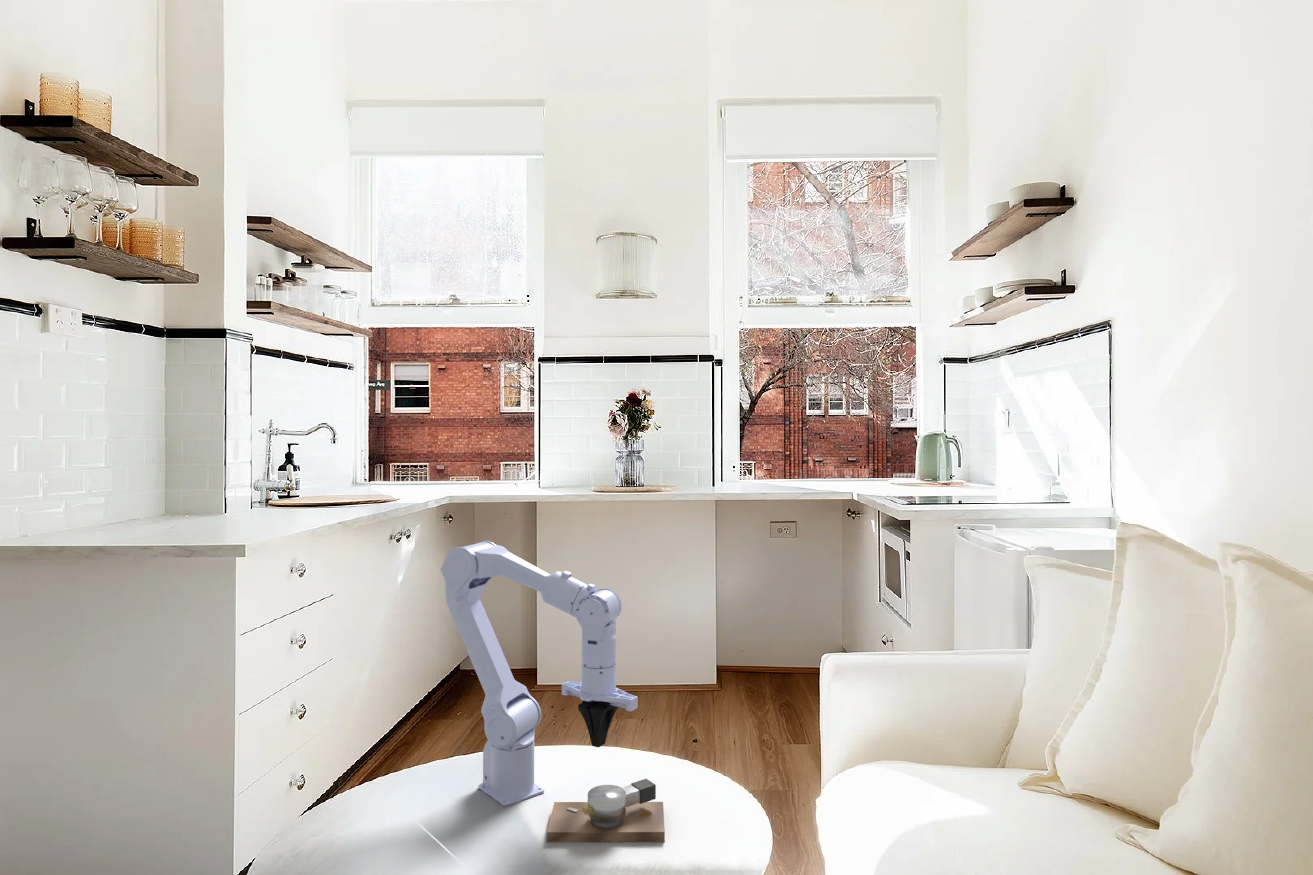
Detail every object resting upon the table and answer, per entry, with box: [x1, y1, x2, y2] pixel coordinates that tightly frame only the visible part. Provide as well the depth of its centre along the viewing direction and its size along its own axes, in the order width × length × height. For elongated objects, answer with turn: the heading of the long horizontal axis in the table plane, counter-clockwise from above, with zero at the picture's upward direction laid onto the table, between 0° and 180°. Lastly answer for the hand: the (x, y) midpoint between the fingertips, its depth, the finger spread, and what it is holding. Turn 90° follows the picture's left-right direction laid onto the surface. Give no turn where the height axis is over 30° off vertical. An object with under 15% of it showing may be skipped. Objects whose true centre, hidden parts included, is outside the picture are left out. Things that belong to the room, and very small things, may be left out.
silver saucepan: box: [583, 778, 657, 822], centre depth 122 cm, size 13×6×3 cm, turn 126°
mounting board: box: [546, 801, 666, 843], centre depth 122 cm, size 10×18×2 cm, turn 91°
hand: (598, 744), depth 128 cm, fingers closed
